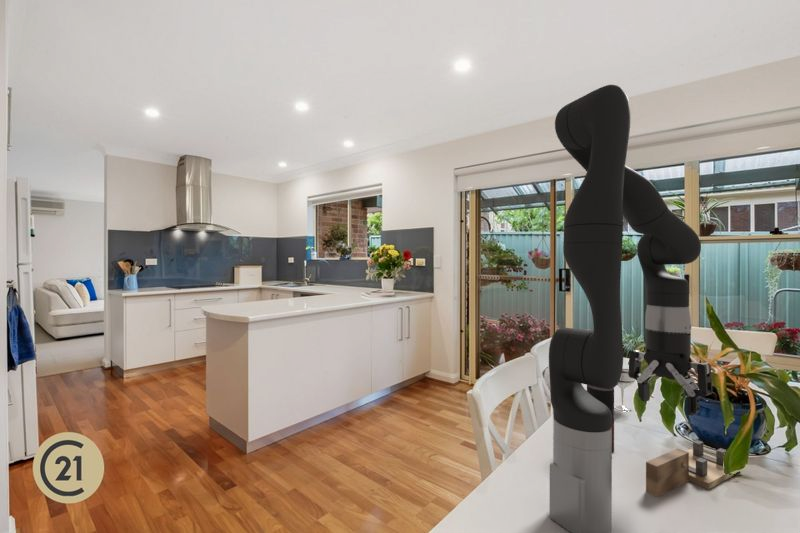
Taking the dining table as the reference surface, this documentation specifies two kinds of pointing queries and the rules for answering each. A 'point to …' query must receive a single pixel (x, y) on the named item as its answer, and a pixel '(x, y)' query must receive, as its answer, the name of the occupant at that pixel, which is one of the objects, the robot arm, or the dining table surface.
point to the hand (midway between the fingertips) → (667, 407)
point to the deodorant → (604, 402)
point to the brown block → (667, 472)
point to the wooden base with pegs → (706, 466)
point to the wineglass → (624, 385)
